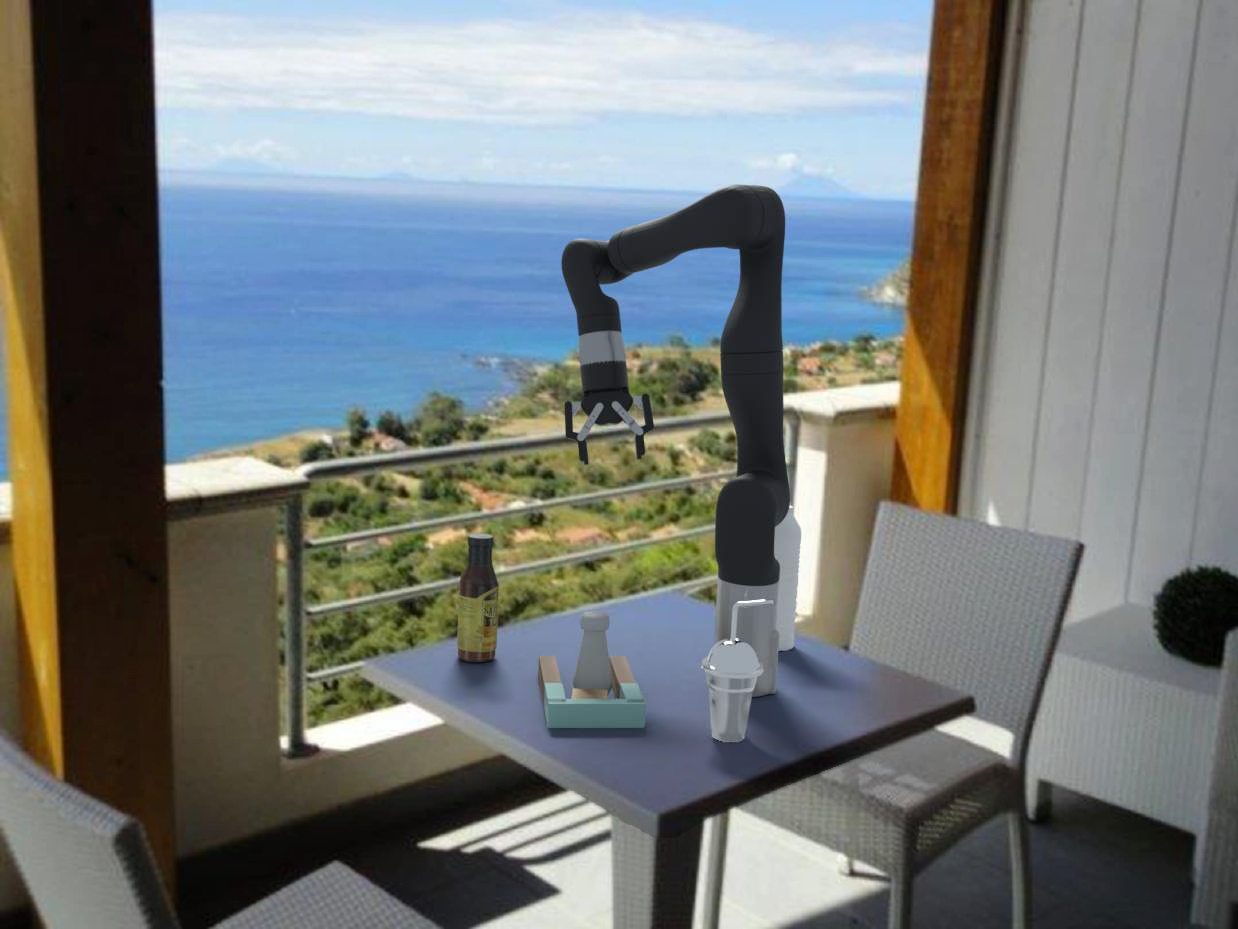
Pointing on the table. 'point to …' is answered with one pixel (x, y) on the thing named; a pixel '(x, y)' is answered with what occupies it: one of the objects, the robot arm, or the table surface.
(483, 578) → the sauce bottle
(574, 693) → the block
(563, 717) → the teal u-shaped block
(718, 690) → the cup with straw
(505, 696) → the table surface
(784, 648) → the water bottle
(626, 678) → the slot
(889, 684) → the table surface
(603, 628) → the salt shaker
